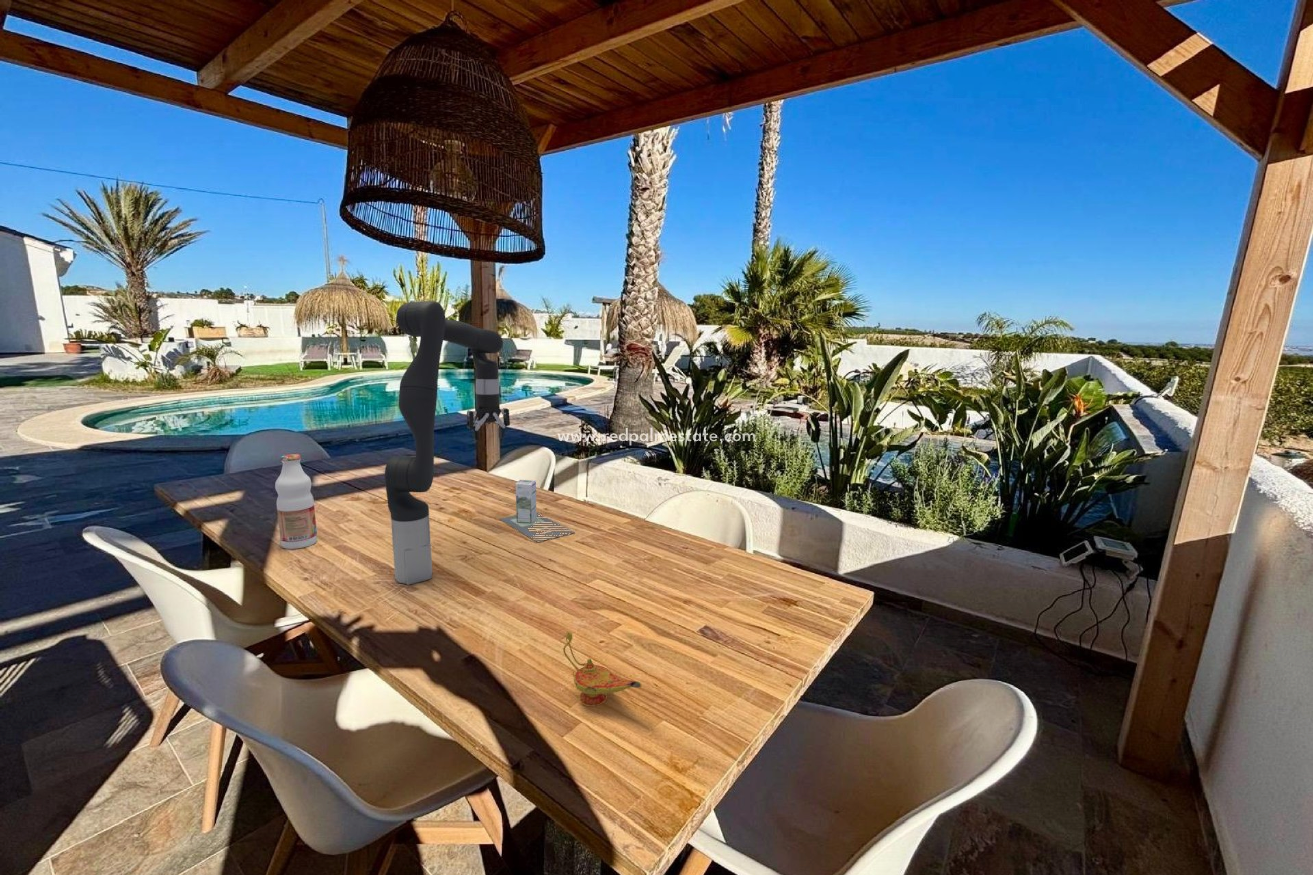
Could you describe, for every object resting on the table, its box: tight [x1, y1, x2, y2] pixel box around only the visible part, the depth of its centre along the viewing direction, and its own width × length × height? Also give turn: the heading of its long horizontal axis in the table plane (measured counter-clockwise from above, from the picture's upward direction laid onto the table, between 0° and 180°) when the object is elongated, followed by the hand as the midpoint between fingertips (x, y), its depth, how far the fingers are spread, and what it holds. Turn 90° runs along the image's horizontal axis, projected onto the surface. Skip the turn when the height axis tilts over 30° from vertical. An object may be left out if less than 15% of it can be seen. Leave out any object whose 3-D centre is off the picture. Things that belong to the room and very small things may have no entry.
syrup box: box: [515, 479, 538, 523], centre depth 187 cm, size 6×6×14 cm
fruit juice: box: [274, 453, 318, 550], centre depth 161 cm, size 9×9×28 cm
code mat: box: [498, 512, 576, 542], centre depth 184 cm, size 28×14×1 cm, turn 41°
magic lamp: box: [562, 631, 642, 707], centre depth 95 cm, size 7×18×11 cm, turn 56°
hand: (489, 439), depth 179 cm, fingers open, 8 cm apart
